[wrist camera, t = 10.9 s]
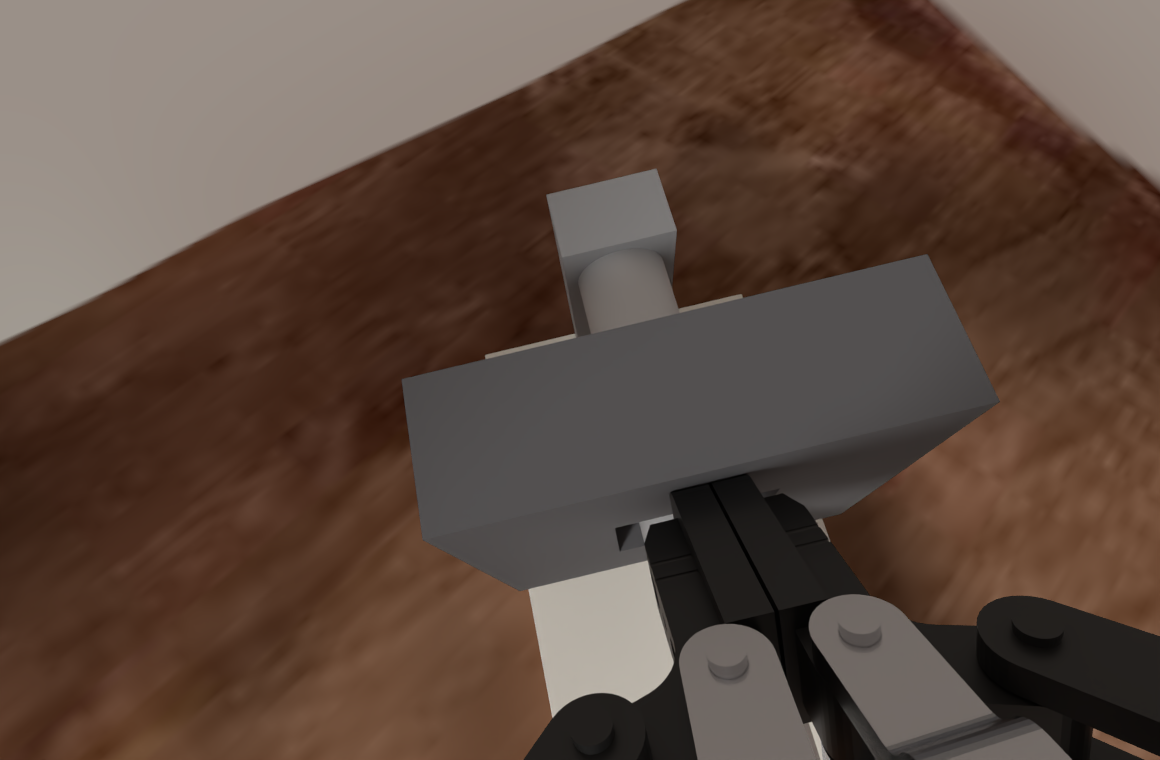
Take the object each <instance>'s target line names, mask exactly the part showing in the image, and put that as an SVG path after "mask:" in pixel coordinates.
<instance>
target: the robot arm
mask: <svg viewBox="0 0 1160 760" xmlns="http://www.w3.org/2000/svg"><path fill="white" fill-rule="evenodd" d="M670 502H671V507H672V512H673V518H674V519H672V520H668V521H664V522H659V523H655V524H651V525H650V526H649V530H648V533H647V536H646V539H645V543H644V546H645V551H646V555H647V560H648V565H649V569H650V574H651V579H652V583H653V588H654V593H655V597H656V602H657V607H658V610H659V614H660V617H661V621H662V624H663V627H664V630H665V634H666V638H667V641H668V645H669V648H670V651H671V655H672V658H673V662H674V664H673V667H672V669H671V671H670V673H669V674H668V676H667V678H666V679H665V680H664V681H663V682H662V683H661V684H660V685H659V686H658V687H657V688H656V689H655V690H653V691H652V692H650V693H649V694H647V695H645V696H644V697H642V698H640V699H638V700H637V701H635V702H633V703H631V702H630V701H628V700H627V699H625V698H623V697H621V696H619V695H615V694H610V693H593V694H588V695H585V696H582V697H579V698H577V699H575V700H573V701H571V702H569V703H568V704H567V705H565V706H564V707H563V708H562V709H560V710H559V711H558V712H557V713H556V715H555V716H554V717H553V718H552V720H551V721H550V723H549V724H548V725H547V727H546V728H545V730H544V731H543V733H542V734H541V735H540V737H539V738H538V740H537V741H536V743H535V744H534V745H533V747H532V748H531V750H530V751H529V753H528V754H527V755H526V757H525V758H524V760H816V757H815V754H814V752H813V749H812V746H811V744H810V741H809V738H808V736H807V733H806V730H805V728H804V725H803V724H805V723H810V722H812V723H813V725H814V727H815V729H816V731H817V733H818V735H819V737H820V740H821V747H822V757H823V760H1144V759H1141V758H1139V757H1137V756H1134V755H1132V754H1130V753H1127V752H1125V751H1123V750H1121V749H1118V748H1116V747H1114V746H1111V745H1109V744H1107V743H1105V742H1102V741H1100V740H1098V739H1095V738H1093V737H1092V733H1093V728H1095V729H1097V730H1099V731H1102V732H1104V733H1106V734H1109V735H1111V736H1113V737H1116V738H1118V739H1120V740H1123V741H1125V742H1127V743H1130V744H1132V745H1134V746H1137V747H1139V748H1141V749H1144V750H1146V751H1148V752H1151V753H1153V754H1155V755H1158V756H1160V636H1157V635H1154V634H1151V633H1148V632H1145V631H1142V630H1139V629H1136V628H1133V627H1130V626H1127V625H1124V624H1121V623H1118V622H1115V621H1112V620H1108V619H1105V618H1102V617H1099V616H1096V615H1093V614H1090V613H1087V612H1084V611H1081V610H1078V609H1075V608H1072V607H1069V606H1066V605H1063V604H1060V603H1057V602H1054V601H1050V600H1047V599H1043V598H1038V597H1032V596H1009V597H1003V598H1000V599H996V600H994V601H992V602H990V603H988V604H987V605H986V606H984V607H983V609H982V610H981V611H980V613H979V615H978V617H977V626H963V625H931V624H923V623H917V622H913V621H910V620H909V619H908V618H907V617H906V616H905V614H903V613H902V612H901V611H900V610H899V609H898V608H896V607H895V606H894V605H892V604H890V603H888V602H886V601H884V600H882V599H879V598H876V597H872V596H870V595H869V594H868V592H867V591H866V589H865V588H864V587H863V585H862V584H861V583H860V581H859V580H858V578H857V577H856V576H855V574H854V573H853V572H852V570H851V569H850V567H849V566H848V565H847V563H846V562H845V561H844V559H843V558H842V556H841V555H840V554H839V552H838V551H837V550H836V548H835V547H834V545H833V544H832V543H831V542H829V540H828V537H827V536H826V534H825V533H824V532H823V530H822V529H821V528H820V527H818V523H817V522H816V521H815V519H814V518H813V517H812V515H811V514H810V513H809V511H808V510H807V508H806V507H805V506H804V505H802V504H801V503H799V502H797V501H795V500H794V499H792V498H790V497H788V496H787V495H785V494H783V493H781V494H777V495H773V496H769V497H764V498H763V496H762V494H761V493H760V491H759V490H758V488H757V487H756V485H755V483H754V482H753V480H752V479H751V477H750V476H749V475H748V474H745V475H740V476H736V477H732V478H728V479H723V480H719V481H715V482H711V483H710V484H709V485H708V484H703V485H699V486H694V487H690V488H686V489H682V490H677V491H673V492H670Z"/></svg>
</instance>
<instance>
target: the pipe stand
mask: <svg viewBox="0 0 1160 760" xmlns="http://www.w3.org/2000/svg"><path fill="white" fill-rule="evenodd" d="M546 196H547V201H548V206H549V210H550V215H551V220H552V225H553V230H554V235H555V240H556V244H557V249H558V254H559V259H560V264H561V269H562V273H563V278H564V283H565V288H566V293H567V298H568V302H569V307H570V312H571V317H572V322H573V327H574V331H575V334H571V335H567V336H563V337H558V338H554V339H550V340H546V341H542V342H537V343H533V344H529V345H525V346H521V347H516V348H512V349H508V350H504V351H500V352H495V353H491V354H487V355H485V357H486V359H489V358H493V357H497V356H501V355H506V354H510V353H514V352H518V351H522V350H527V349H531V348H535V347H539V346H543V345H548V344H552V343H556V342H560V341H564V340H569V339H573V338H577V337H581V336H585V335H590V334H594V333H598V332H602V331H606V330H611V329H615V328H619V327H623V326H627V325H632V324H636V323H640V322H644V321H648V320H652V319H657V318H661V317H665V316H669V315H673V314H678V313H682V312H686V311H690V310H694V309H699V308H703V307H707V306H711V305H715V304H720V303H724V302H728V301H732V300H736V299H741V298H743V296H742V294H739V295H735V296H731V297H726V298H722V299H718V300H714V301H710V302H705V303H701V304H697V305H693V306H689V307H684V308H680V309H678V306H677V303H676V300H675V296H674V293H673V290H672V282H673V270H674V258H675V246H676V234H677V229H676V226H675V223H674V220H673V217H672V214H671V211H670V208H669V205H668V202H667V199H666V196H665V193H664V190H663V187H662V184H661V181H660V178H659V175H658V172H657V169H653V170H649V171H644V172H640V173H636V174H632V175H627V176H623V177H619V178H615V179H611V180H606V181H602V182H598V183H594V184H589V185H585V186H581V187H577V188H573V189H568V190H564V191H560V192H556V193H551V194H547V195H546ZM672 519H674V518H673V514H671V515H667V516H663V517H659V518H655V519H650V520H646V521H642V522H639V524H640V528H641V532H642V536H643V540H644V543H645V539H646V536H647V533H648V530H649V526H650V525H651V524H655V523H659V522H664V521H668V520H672ZM815 521H816V522H817V523H818V527H820V528H821V529H822V530H823V532H824V533H825V534H826V536H827V537H828V540H829V542H830V539H829V536H828V533H827V531H826V528H825V525H824V522H823V519H818V520H815ZM529 594H530V599H531V605H532V610H533V616H534V621H535V626H536V632H537V637H538V642H539V648H540V653H541V659H542V664H543V669H544V675H545V680H546V685H547V691H548V696H549V702H550V707H551V712H552V718H553V717H554V716H555V715H556V713H557V712H558V711H559V710H560V709H562V708H563V707H564V706H565V705H567V704H568V703H569V702H571V701H573V700H575V699H577V698H579V697H582V696H585V695H588V694H593V693H610V694H615V695H619V696H621V697H623V698H625V699H627V700H628V701H630V702H631V703H633V702H635V701H637V700H638V699H640V698H642V697H644V696H645V695H647V694H649V693H650V692H652V691H653V690H655V689H656V688H657V687H658V686H659V685H660V684H661V683H662V682H663V681H664V680H665V679H666V678H667V676H668V674H669V673H670V671H671V669H672V667H673V664H674V662H673V658H672V655H671V651H670V648H669V645H668V641H667V638H666V634H665V630H664V627H663V624H662V621H661V617H660V614H659V610H658V607H657V602H656V597H655V593H654V588H653V583H652V579H651V574H650V569H649V565H648V560H647V561H643V562H639V563H635V564H631V565H627V566H622V567H618V568H614V569H610V570H606V571H602V572H597V573H593V574H589V575H585V576H581V577H577V578H573V579H568V580H564V581H560V582H556V583H552V584H548V585H543V586H539V587H535V588H531V589H529ZM803 725H804V728H805V730H806V733H807V736H808V738H809V741H810V744H811V746H812V749H813V752H814V754H815V757H816V760H823V757H822V747H821V740H820V737H819V735H818V733H817V731H816V729H815V727H814V725H813V723H812V722H810V723H805V724H803Z"/></svg>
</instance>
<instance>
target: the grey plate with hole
mask: <svg viewBox="0 0 1160 760" xmlns="http://www.w3.org/2000/svg"><path fill="white" fill-rule="evenodd" d="M402 387H403V394H404V402H405V409H406V417H407V425H408V432H409V440H410V447H411V455H412V463H413V470H414V478H415V485H416V493H417V500H418V508H419V516H420V523H421V531H422V538H423V540H424V541H426V542H428V543H429V544H431V545H433V546H435V547H437V548H439V549H441V550H443V551H445V552H447V553H448V554H450V555H452V556H454V557H456V558H458V559H460V560H462V561H464V562H466V563H467V564H469V565H471V566H473V567H475V568H477V569H479V570H481V571H483V572H485V573H486V574H488V575H490V576H492V577H494V578H496V579H498V580H500V581H502V582H504V583H506V584H507V585H509V586H511V587H513V588H515V589H517V590H519V591H523V590H527V589H531V588H535V587H539V586H543V585H548V584H552V583H556V582H560V581H564V580H568V579H573V578H577V577H581V576H585V575H589V574H593V573H597V572H602V571H606V570H610V569H614V568H618V567H622V566H627V565H631V564H635V563H639V562H643V561H647V555H646V551H645V546H644V540H643V536H642V532H641V528H640V524H639V522H642V521H646V520H650V519H655V518H659V517H663V516H667V515H671V514H673V512H672V507H671V502H670V492H673V491H677V490H682V489H686V488H690V487H694V486H699V485H703V484H708V485H709V484H710V483H711V482H715V481H719V480H723V479H728V478H732V477H736V476H740V475H745V474H748V475H749V476H750V477H751V479H752V480H753V482H754V483H755V485H756V487H757V488H758V490H759V491H760V493H761V494H762V496H763V498H764V497H769V496H773V495H777V494H781V493H783V494H785V495H787V496H788V497H790V498H792V499H794V500H795V501H797V502H799V503H801V504H802V505H804V506H805V507H806V508H807V510H808V511H809V513H810V514H811V515H812V517H813V518H814V519H815V520H818V519H822V518H826V517H830V516H835V515H839V514H842V513H843V512H844V511H846V510H847V509H849V508H850V507H852V506H853V505H854V504H856V503H857V502H859V501H860V500H861V499H863V498H864V497H866V496H867V495H869V494H870V493H871V492H873V491H874V490H876V489H877V488H878V487H880V486H881V485H883V484H884V483H885V482H887V481H888V480H890V479H891V478H893V477H894V476H895V475H897V474H898V473H900V472H901V471H902V470H904V469H905V468H907V467H908V466H910V465H911V464H912V463H914V462H915V461H917V460H918V459H919V458H921V457H922V456H924V455H925V454H927V453H928V452H929V451H931V450H932V449H934V448H935V447H936V446H938V445H939V444H941V443H942V442H943V441H945V440H946V439H948V438H949V437H951V436H952V435H953V434H955V433H956V432H958V431H959V430H960V429H962V428H963V427H965V426H966V425H968V424H969V423H970V422H972V421H973V420H975V419H976V418H977V417H979V416H980V415H982V414H983V413H985V412H986V411H987V410H989V409H990V408H992V407H993V406H994V405H996V404H997V403H999V402H1000V401H999V399H998V397H997V395H996V393H995V391H994V389H993V387H992V385H991V382H990V380H989V378H988V376H987V374H986V372H985V370H984V368H983V366H982V364H981V362H980V360H979V358H978V356H977V354H976V352H975V350H974V348H973V346H972V344H971V342H970V340H969V338H968V336H967V334H966V332H965V330H964V328H963V326H962V323H961V321H960V319H959V317H958V315H957V313H956V311H955V309H954V307H953V305H952V303H951V301H950V299H949V297H948V295H947V293H946V291H945V289H944V287H943V285H942V283H941V281H940V279H939V277H938V275H937V273H936V271H935V269H934V267H933V264H932V262H931V260H930V258H929V256H928V254H925V255H921V256H917V257H913V258H909V259H904V260H900V261H896V262H892V263H888V264H883V265H879V266H875V267H871V268H867V269H862V270H858V271H854V272H850V273H846V274H841V275H837V276H833V277H829V278H825V279H820V280H816V281H812V282H808V283H804V284H799V285H795V286H791V287H787V288H783V289H778V290H774V291H770V292H766V293H762V294H757V295H753V296H749V297H745V298H741V299H736V300H732V301H728V302H724V303H720V304H715V305H711V306H707V307H703V308H699V309H694V310H690V311H686V312H682V313H678V314H673V315H669V316H665V317H661V318H657V319H652V320H648V321H644V322H640V323H636V324H632V325H627V326H623V327H619V328H615V329H611V330H606V331H602V332H598V333H594V334H590V335H585V336H581V337H577V338H573V339H569V340H564V341H560V342H556V343H552V344H548V345H543V346H539V347H535V348H531V349H527V350H522V351H518V352H514V353H510V354H506V355H501V356H497V357H493V358H489V359H485V360H480V361H476V362H472V363H468V364H464V365H459V366H455V367H451V368H447V369H443V370H438V371H434V372H430V373H426V374H422V375H417V376H413V377H409V378H405V379H402Z"/></svg>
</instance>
